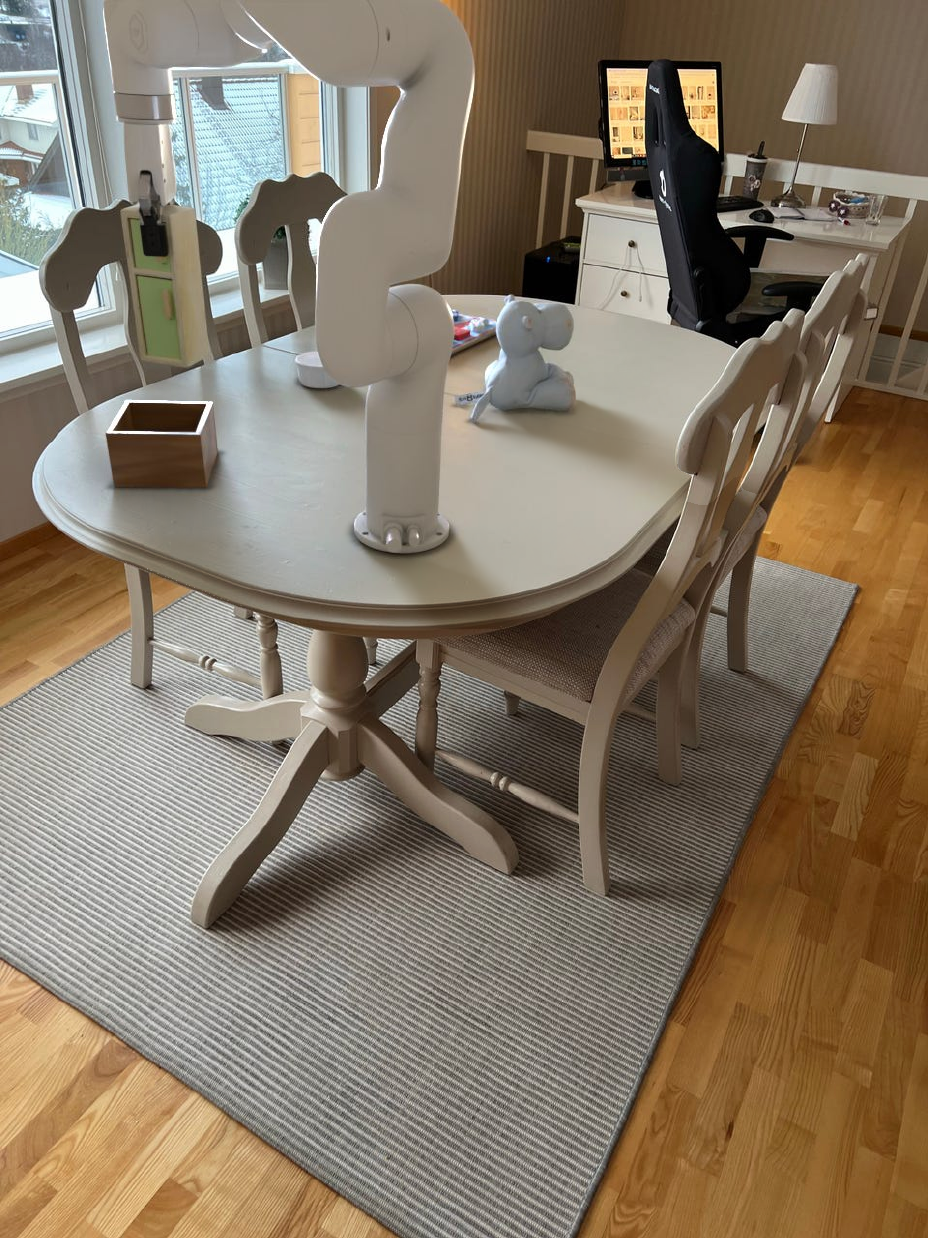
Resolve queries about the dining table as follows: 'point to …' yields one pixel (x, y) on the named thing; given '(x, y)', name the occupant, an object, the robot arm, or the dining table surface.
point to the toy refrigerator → (167, 290)
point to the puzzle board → (470, 330)
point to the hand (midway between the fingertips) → (162, 247)
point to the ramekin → (313, 371)
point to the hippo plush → (527, 360)
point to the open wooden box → (162, 444)
